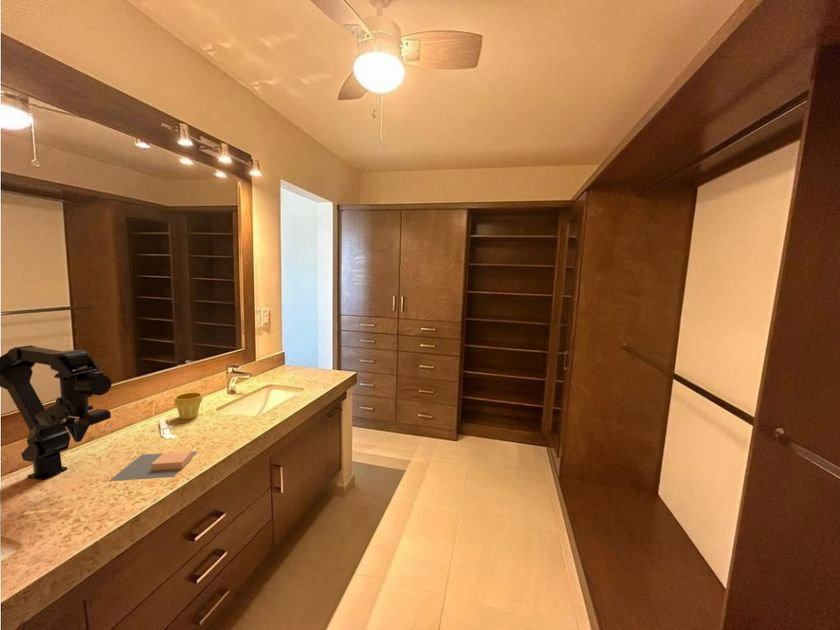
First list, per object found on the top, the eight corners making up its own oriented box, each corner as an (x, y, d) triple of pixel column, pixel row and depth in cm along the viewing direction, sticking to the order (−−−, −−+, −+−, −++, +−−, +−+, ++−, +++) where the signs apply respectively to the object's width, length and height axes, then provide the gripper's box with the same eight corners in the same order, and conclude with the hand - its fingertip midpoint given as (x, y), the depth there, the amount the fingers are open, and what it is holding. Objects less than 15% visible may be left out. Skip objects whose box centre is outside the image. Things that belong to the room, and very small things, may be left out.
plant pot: (207, 412, 159) (207, 392, 158) (193, 421, 149) (192, 399, 148) (185, 412, 159) (184, 391, 158) (169, 421, 148) (168, 399, 147)
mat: (108, 482, 103) (108, 480, 103) (141, 456, 119) (141, 454, 119) (174, 478, 107) (173, 476, 107) (198, 453, 122) (198, 451, 122)
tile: (151, 463, 109) (182, 462, 111) (163, 453, 116) (192, 451, 118) (151, 470, 109) (182, 468, 111) (163, 459, 116) (192, 457, 118)
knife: (189, 443, 128) (163, 449, 123) (189, 447, 128) (163, 453, 123) (180, 415, 151) (158, 419, 146) (181, 419, 151) (159, 423, 146)
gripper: (14, 398, 96) (19, 450, 98) (67, 404, 93) (71, 458, 95) (62, 386, 107) (66, 434, 109) (110, 391, 104) (114, 440, 106)
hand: (78, 441), depth 104 cm, fingers closed
